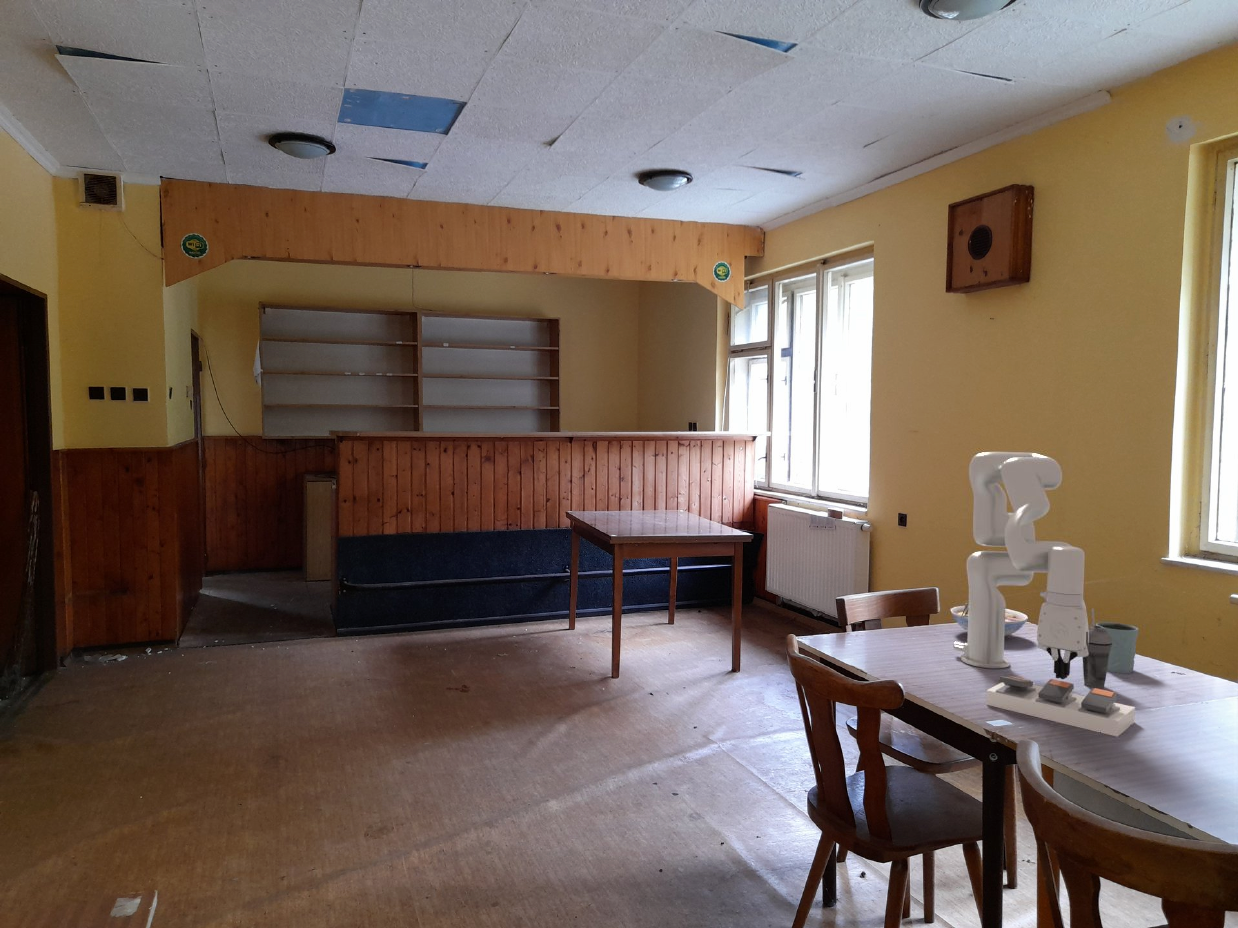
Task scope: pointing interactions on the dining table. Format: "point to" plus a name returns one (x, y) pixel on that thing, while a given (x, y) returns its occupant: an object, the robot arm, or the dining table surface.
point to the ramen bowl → (1012, 618)
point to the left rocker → (1016, 682)
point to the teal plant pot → (1121, 646)
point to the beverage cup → (1096, 656)
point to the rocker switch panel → (1061, 709)
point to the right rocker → (1099, 700)
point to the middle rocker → (1056, 690)
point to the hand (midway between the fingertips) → (1061, 677)
